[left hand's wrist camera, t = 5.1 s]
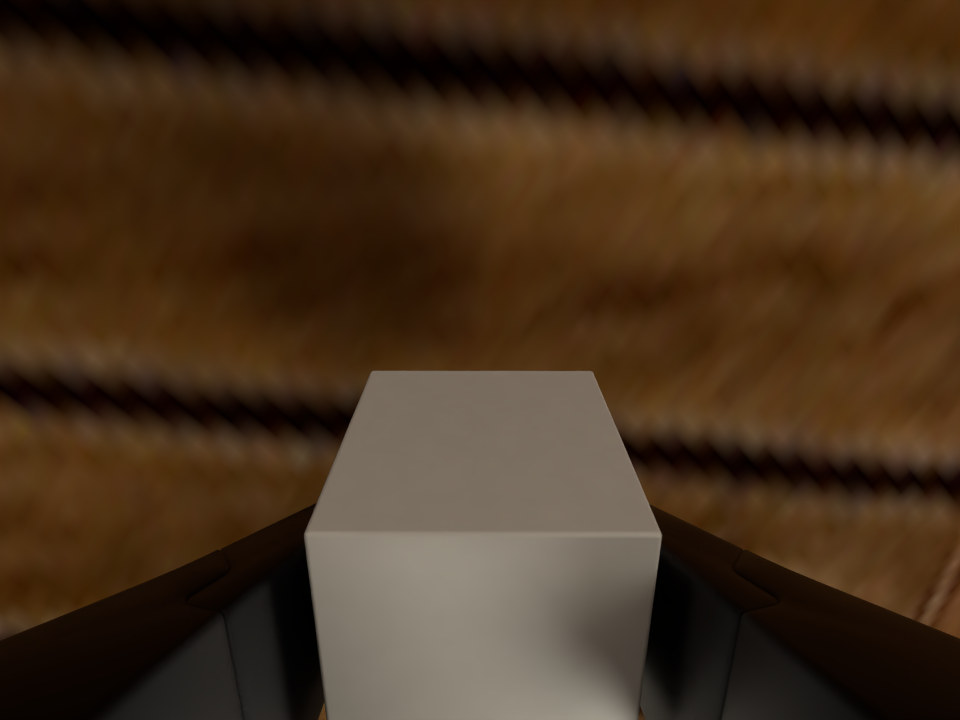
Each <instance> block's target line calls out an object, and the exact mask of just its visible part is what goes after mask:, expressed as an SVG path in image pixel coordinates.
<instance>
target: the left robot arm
mask: <svg viewBox="0 0 960 720" xmlns="http://www.w3.org/2000/svg"><path fill="white" fill-rule="evenodd" d="M316 504H317V503H315V504H313V505H311V506H309V507H307V508H305V509H303V510H301V511H299V512H297V513H295V514H293V515H291V516H288V517H286V518H284V519H282V520H280V521H278V522H276V523H274V524H272V525H270V526H268V527H266V528H264V529H261V530H259V531H257V532H255V533H253V534H251V535H249V536H247V537H245V538H243V539H241V540H239V541H237V542H234V543H232V544H230V545H228V546H226V547H224V548H222V549H221V550H216V551H214V552H212V553H210V554H208V555H206V556H204V557H202V558H199V559H197V560H195V561H193V562H191V563H188V564H186V565H184V566H182V567H180V568H177V569H175V570H173V571H170V572H168V573H166V574H163V575H161V576H158V577H156V578H154V579H151V580H149V581H147V582H144V583H142V584H139V585H137V586H134V587H132V588H129V589H127V590H124V591H122V592H119V593H117V594H115V595H112V596H110V597H107V598H105V599H102V600H100V601H97V602H95V603H92V604H90V605H87V606H85V607H82V608H80V609H77V610H75V611H73V612H70V613H68V614H65V615H63V616H60V617H58V618H55V619H53V620H50V621H48V622H45V623H43V624H40V625H38V626H35V627H33V628H31V629H28V630H26V631H23V632H21V633H18V634H16V635H13V636H11V637H8V638H6V639H3V640H1V641H0V720H318V718H319V715H320V713H321V710H322V707H323V704H324V694H323V686H322V678H321V670H320V661H319V653H318V645H317V637H316V629H315V621H314V613H313V605H312V597H311V589H310V581H309V573H308V565H307V557H306V549H305V541H304V533H305V531H306V528H307V526H308V523H309V521H310V518H311V516H312V514H313V511H314V509H315V506H316ZM649 506H650V508H651V510H652V513H653V515H654V517H655V520H656V522H657V524H658V527H659V529H660V531H661V534H662V539H661V547H660V555H659V562H658V570H657V577H656V585H655V593H654V600H653V608H652V615H651V623H650V631H649V638H648V646H647V654H646V661H645V669H644V676H643V684H642V692H641V699H640V706H641V709H642V712H643V715H644V717H645V720H960V639H959V638H957V637H954V636H952V635H950V634H947V633H945V632H942V631H940V630H937V629H935V628H932V627H930V626H927V625H925V624H922V623H920V622H917V621H915V620H912V619H910V618H907V617H905V616H902V615H900V614H897V613H895V612H892V611H890V610H887V609H885V608H882V607H880V606H877V605H875V604H872V603H870V602H867V601H865V600H862V599H860V598H857V597H855V596H852V595H850V594H847V593H845V592H843V591H840V590H838V589H835V588H833V587H830V586H828V585H825V584H823V583H820V582H818V581H815V580H813V579H810V578H808V577H806V576H803V575H801V574H799V573H796V572H794V571H791V570H789V569H787V568H784V567H782V566H780V565H778V564H776V563H773V562H771V561H769V560H767V559H765V558H762V557H760V556H758V555H756V554H754V553H752V552H750V551H748V550H744V551H743V549H742V548H740V547H737V546H735V545H733V544H731V543H729V542H727V541H725V540H723V539H721V538H719V537H717V536H714V535H712V534H710V533H708V532H706V531H704V530H702V529H700V528H698V527H696V526H693V525H691V524H689V523H687V522H685V521H683V520H681V519H679V518H677V517H675V516H673V515H670V514H668V513H666V512H664V511H662V510H660V509H658V508H656V507H654V506H652V505H649Z"/></svg>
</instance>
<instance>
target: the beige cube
mask: <svg viewBox="0 0 960 720" xmlns="http://www.w3.org/2000/svg"><path fill="white" fill-rule="evenodd" d="M661 539H662V534H661V531H660V529H659V527H658V524H657V522H656V520H655V517H654V515H653V513H652V510H651V508H650V506H649V503H648V501H647V499H646V496H645V494H644V492H643V489H642V487H641V484H640V482H639V480H638V477H637V475H636V473H635V470H634V468H633V466H632V463H631V461H630V459H629V456H628V454H627V452H626V449H625V447H624V445H623V442H622V440H621V438H620V435H619V433H618V431H617V428H616V426H615V423H614V421H613V419H612V416H611V414H610V412H609V409H608V407H607V405H606V402H605V400H604V398H603V395H602V393H601V391H600V388H599V386H598V384H597V381H596V379H595V377H594V374H593V372H591V371H372V372H371V374H370V376H369V378H368V381H367V383H366V386H365V388H364V390H363V393H362V395H361V398H360V400H359V403H358V405H357V407H356V410H355V412H354V415H353V417H352V419H351V422H350V424H349V427H348V429H347V432H346V434H345V436H344V439H343V441H342V444H341V446H340V448H339V451H338V453H337V456H336V458H335V461H334V463H333V465H332V468H331V470H330V473H329V475H328V477H327V480H326V482H325V485H324V487H323V489H322V492H321V494H320V497H319V499H318V502H317V504H316V506H315V509H314V511H313V514H312V516H311V518H310V521H309V523H308V526H307V528H306V531H305V533H304V541H305V549H306V557H307V565H308V573H309V581H310V589H311V597H312V605H313V613H314V621H315V629H316V637H317V645H318V653H319V661H320V670H321V678H322V686H323V694H324V702H325V710H326V718H327V720H638V715H639V707H640V699H641V692H642V684H643V676H644V669H645V661H646V654H647V646H648V638H649V631H650V623H651V615H652V608H653V600H654V593H655V585H656V577H657V570H658V562H659V555H660V547H661Z"/></svg>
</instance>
